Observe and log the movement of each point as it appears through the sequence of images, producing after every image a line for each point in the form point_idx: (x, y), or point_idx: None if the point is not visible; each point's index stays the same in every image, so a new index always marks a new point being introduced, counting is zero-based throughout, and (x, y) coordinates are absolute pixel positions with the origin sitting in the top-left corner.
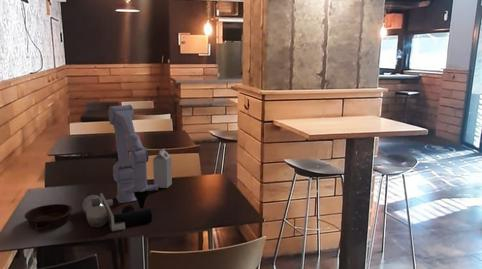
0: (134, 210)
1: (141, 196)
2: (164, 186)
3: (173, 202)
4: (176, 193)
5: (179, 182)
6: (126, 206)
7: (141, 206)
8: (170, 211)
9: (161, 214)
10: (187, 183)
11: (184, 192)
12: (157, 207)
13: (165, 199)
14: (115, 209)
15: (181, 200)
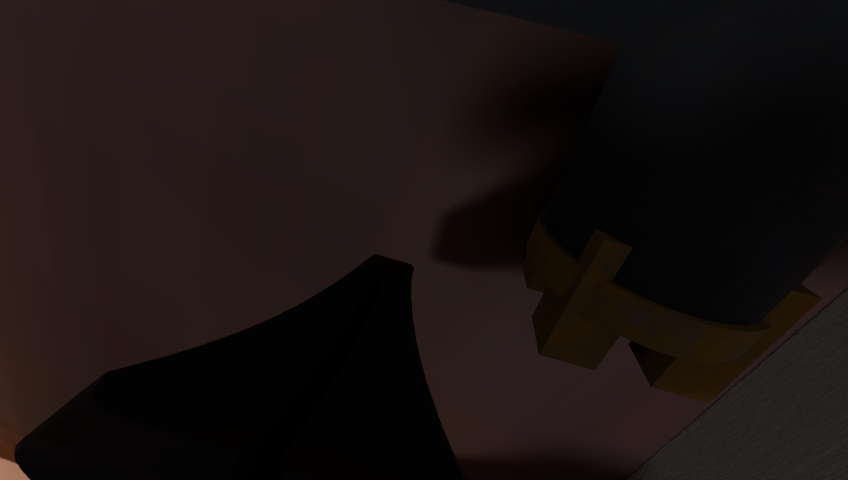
0: (669, 116)
1: (315, 416)
2: None
3: (71, 246)
4: (61, 362)
5: None
6: (727, 337)
7: (393, 272)
8: (91, 33)
9: (213, 8)
10: (8, 419)
11: (5, 342)
12: (224, 244)
13: (139, 334)
14: (561, 434)
15: (3, 238)
